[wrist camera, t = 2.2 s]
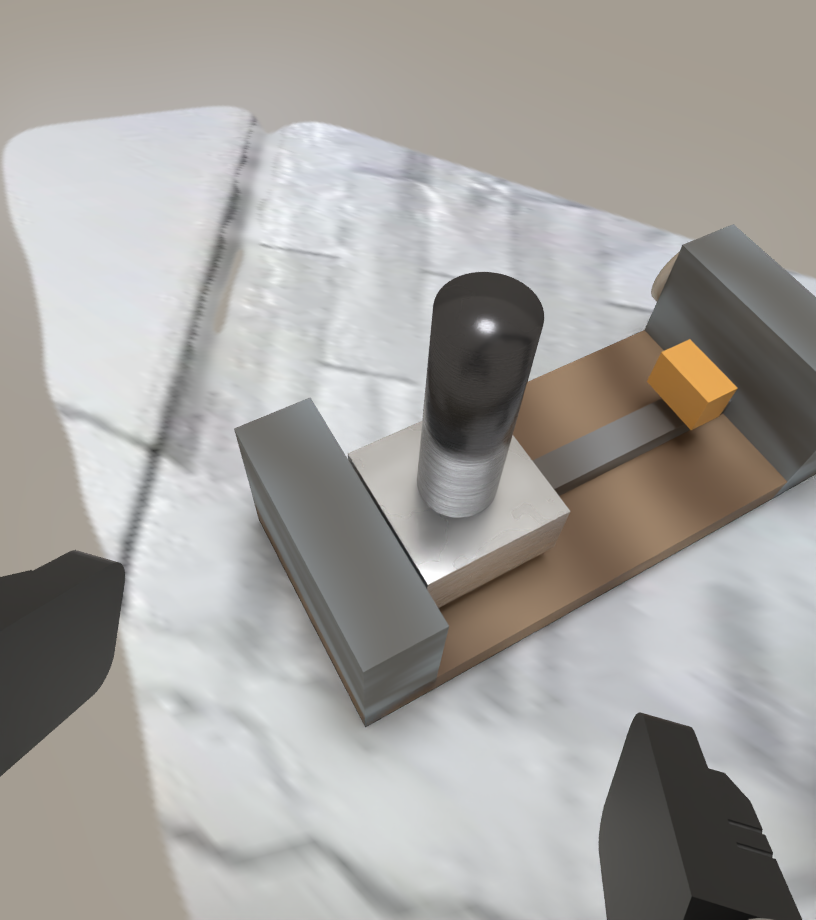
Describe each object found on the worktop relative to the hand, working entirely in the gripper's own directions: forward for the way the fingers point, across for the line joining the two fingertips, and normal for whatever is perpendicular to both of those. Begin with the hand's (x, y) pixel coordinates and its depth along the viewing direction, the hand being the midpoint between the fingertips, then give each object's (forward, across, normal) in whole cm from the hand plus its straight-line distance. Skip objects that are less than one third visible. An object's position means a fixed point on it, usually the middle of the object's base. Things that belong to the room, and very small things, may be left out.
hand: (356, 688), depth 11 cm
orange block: (+25, -8, -4) cm, 26 cm away
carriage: (+19, 0, +3) cm, 19 cm away
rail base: (+24, -4, +2) cm, 24 cm away
